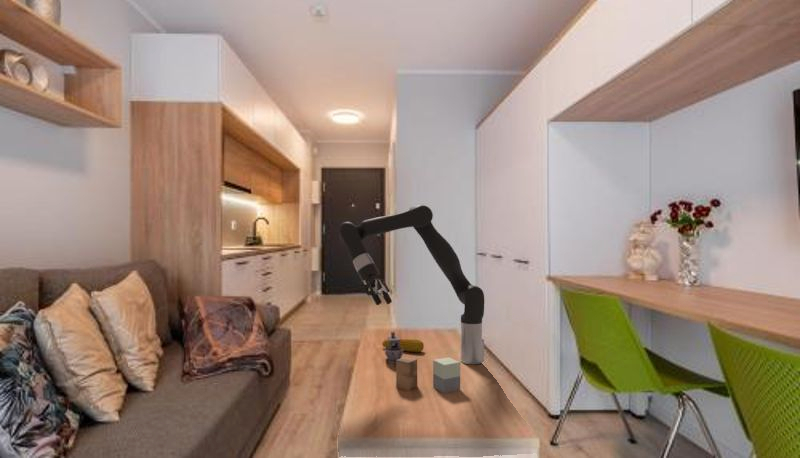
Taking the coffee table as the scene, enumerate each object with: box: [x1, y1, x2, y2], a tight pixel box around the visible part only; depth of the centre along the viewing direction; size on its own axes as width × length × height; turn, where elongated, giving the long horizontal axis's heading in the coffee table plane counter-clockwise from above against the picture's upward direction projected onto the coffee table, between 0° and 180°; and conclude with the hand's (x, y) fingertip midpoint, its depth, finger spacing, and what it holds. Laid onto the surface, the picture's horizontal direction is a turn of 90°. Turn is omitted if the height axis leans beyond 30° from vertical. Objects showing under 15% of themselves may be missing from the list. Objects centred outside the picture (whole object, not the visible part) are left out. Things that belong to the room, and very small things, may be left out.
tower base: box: [432, 373, 461, 394], centre depth 155 cm, size 7×7×5 cm
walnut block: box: [395, 356, 418, 392], centre depth 156 cm, size 6×6×10 cm
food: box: [381, 338, 425, 353], centre depth 206 cm, size 21×6×6 cm, turn 68°
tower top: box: [432, 357, 461, 379], centre depth 155 cm, size 7×7×5 cm
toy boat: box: [384, 330, 404, 364], centre depth 187 cm, size 15×8×13 cm, turn 12°
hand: (384, 303), depth 163 cm, fingers open, 8 cm apart
